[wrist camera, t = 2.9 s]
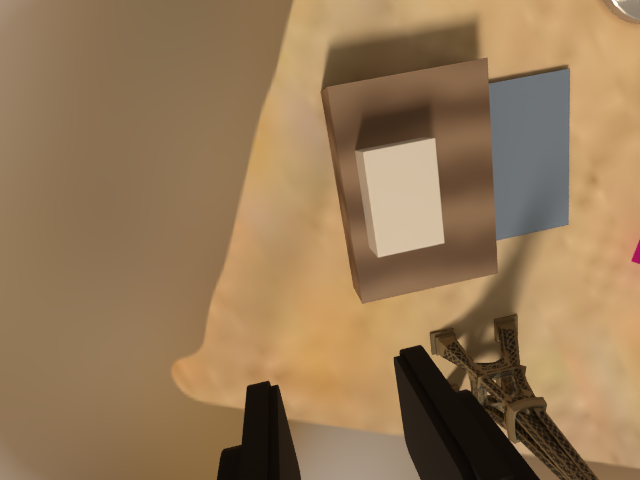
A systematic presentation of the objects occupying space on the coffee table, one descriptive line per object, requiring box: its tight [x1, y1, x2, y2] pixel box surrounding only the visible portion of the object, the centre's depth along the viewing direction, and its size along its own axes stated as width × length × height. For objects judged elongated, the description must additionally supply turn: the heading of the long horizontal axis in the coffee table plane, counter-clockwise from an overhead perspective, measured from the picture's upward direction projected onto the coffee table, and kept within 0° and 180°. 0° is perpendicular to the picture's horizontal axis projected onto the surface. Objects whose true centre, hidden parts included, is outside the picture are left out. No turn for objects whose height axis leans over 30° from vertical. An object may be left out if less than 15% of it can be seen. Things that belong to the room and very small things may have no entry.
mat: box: [489, 69, 570, 240], centre depth 39 cm, size 16×10×1 cm, turn 10°
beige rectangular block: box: [355, 138, 444, 257], centre depth 33 cm, size 9×6×3 cm, turn 10°
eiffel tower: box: [430, 315, 598, 480], centre depth 34 cm, size 11×11×25 cm
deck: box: [321, 58, 498, 304], centre depth 37 cm, size 20×14×4 cm
